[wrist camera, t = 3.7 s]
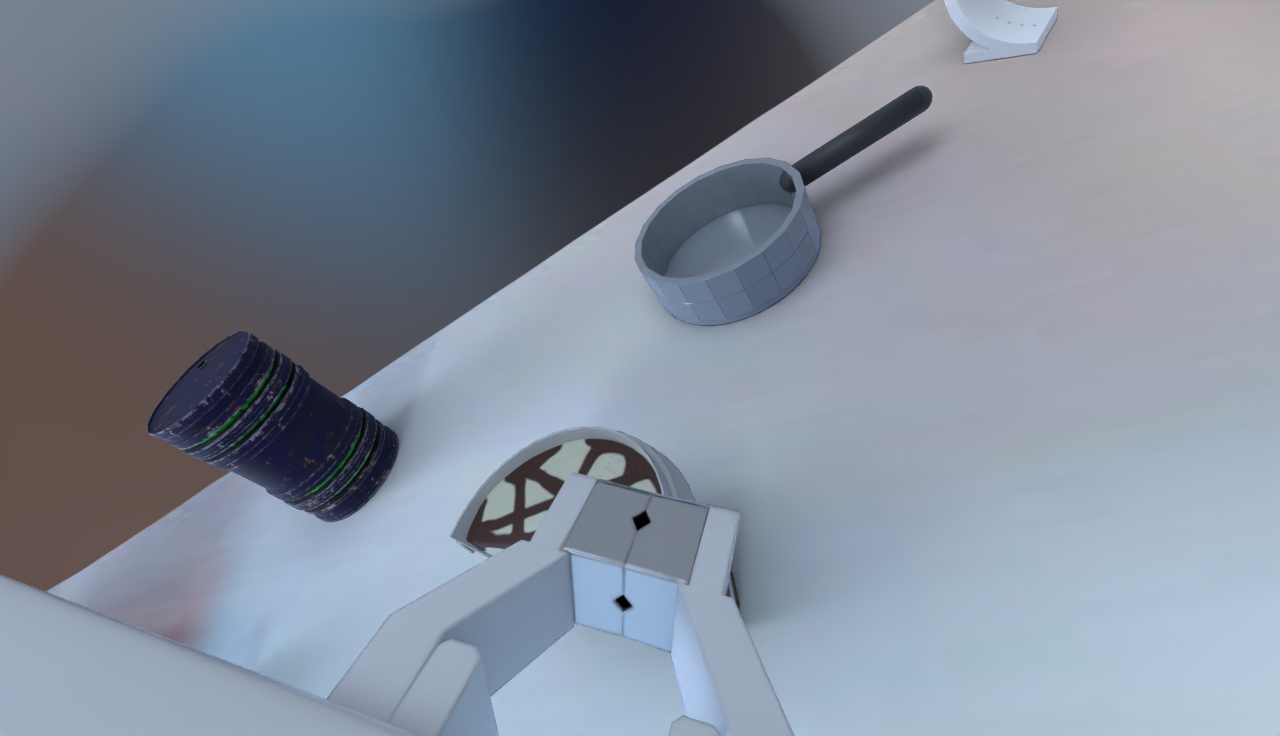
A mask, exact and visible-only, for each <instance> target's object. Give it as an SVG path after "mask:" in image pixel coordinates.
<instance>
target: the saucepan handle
mask: <svg viewBox="0 0 1280 736" xmlns="http://www.w3.org/2000/svg"><path fill="white" fill-rule="evenodd" d="M931 102H932V93H931V91H930V90H929V88H927V87H925V86H916V87H914V88H912V89H910V90H909V91H907V92H906V93H904V94H903V95H901V96H899V97H898V98H896V99H895V100H893V101H892V102H890V103H888V104H887V105H885V106H884V107H882V108H881V109H879V110H878V111H876V112H874V113H873V114H871V115H870V116H868V117H867V118H865V119H863V120H862V121H860V122H859V123H857V124H856V125H854V126H852V127H851V128H849V129H848V130H846V131H845V132H843V133H841V134H840V135H838V136H837V137H835V138H834V139H832V140H831V141H829V142H827V143H826V144H824V145H823V146H821V147H820V148H818V149H816V150H815V151H813V152H812V153H810V154H809V155H807V156H805V157H804V158H802V159H801V160H799V161H798V162H796V163H795V164H793V165H791V166H792V167H793V168H795V169H796V170H797V171H799V172H800V174H801V177H802V179H803V182H804V185H805V186H806V185H808V184H810V183H811V182H813V181H814V180H816V179H818V178H819V177H821V176H822V175H824V174H825V173H827V172H829V171H830V170H832V169H833V168H835V167H837V166H838V165H840V164H841V163H843V162H845V161H846V160H848V159H849V158H851V157H852V156H854V155H856V154H857V153H859V152H860V151H862V150H864V149H865V148H867V147H868V146H870V145H872V144H873V143H875V142H876V141H878V140H879V139H881V138H883V137H884V136H886V135H887V134H889V133H891V132H892V131H894V130H895V129H897V128H899V127H900V126H902V125H903V124H905V123H906V122H908V121H910V120H911V119H913V118H914V117H916V116H918V115H919V114H921V113H922V112H924V111H925V110H926V109H927V108H928V107H929V106H930V104H931ZM779 184H780V186H781V188H782V189H783V190H784V191H785V192H788V193H794V192H796V189H795V185H794V183H793V181H792V179H791V177H790V176H789V174H788V173H787V172H786V171H783V172H782V174H781V175H780V179H779Z"/></svg>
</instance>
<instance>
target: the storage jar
mask: <svg viewBox="0 0 1280 736" xmlns="http://www.w3.org/2000/svg"><path fill="white" fill-rule="evenodd" d="M147 432H148V433H149V434H151V435H152V436H155V437H157V438H159V439H162V440H164V439H165V440H167V441H168V443H169V444H171V445H173V446H175V447H177V448H179V449H182V451H183V452H184V453H186V454H188V455H190V456H192V457H193V458H196V459H198V460H204V461H205V462H207V463H209V464H210V466H212V467H215V468H219V469H221V470H225V471H226V470H231V471H232V472H234V473H236V474H238V475H240V476H242V477H244V478H246V479H248V480H250V481H252V482H254V483H256V484H258V485H260V486H262V487H264V488H266V490H267V492H268V493H269V494H271V495H273V496H275V497H277V498H279V499H281V500H283V501H284V502H285V503H287V504H288V505H290V506H292V507H294V508H296V509H299V510H304V511H305V512H307V513H311V514H315V515H316V516H317V517H318V518H320V519H322V520H324V521H327V522H335V521H339V520H342V519H344V518H346V517H348V516H350V515H351V514H353V513H354V512H356V511H357V510H358V509H360V508H361V507H362V506H363V505H364V504H365V503H366V502H367V501H368V500H369V499H370V498H371V497H372V496H373V495H374V494H375V493H376V492H377V490H378V489H379V488H380V486H381V485H382V484H383V482H384V481H385V479H386V477H387V476H388V474H389V472H390V470H391V468H392V466H393V464H394V461H395V459H396V455H397V452H398V438H397V435H396V434H395V432H394V431H392V430H391V429H390V428H388V427H386V426H383V425H382V424H381V423H380V422H379V421H378V420H376V419H375V418H374V416H373V415H371V414H370V413H368V412H367V411H366V410H364V409H363V408H360V407H357V406H356V405H355V404H353V403H352V402H350V401H349V400H347V399H345V398H340V397H338V396H337V395H335V394H334V393H332V392H331V391H329V390H328V389H326V388H325V387H323V386H322V385H320V384H319V383H317V382H316V381H315V380H313V379H312V378H310V376H309V374H308V373H307V372H306V371H305V370H304V369H303V368H302V367H301V366H300V365H296V364H295V363H293V362H291V359H289V358H288V357H287V356H285V355H284V354H282V353H281V352H279V351H278V350H274V349H273V348H271V347H270V346H269V345H267V344H266V343H264V342H259V341H258V338H257V337H256V336H254V335H253V334H251V333H250V332H248V331H246V330H242V331H238V332H236V333H234V334H231V335H229V336H228V337H226V338H225V339H223V340H222V341H220V342H219V343H217V344H216V345H215V346H213V347H212V348H211V349H209V350H208V351H207V352H206V353H205V354H203V355H202V356H201V357H200V358H199V359H198V360H197V361H196V362H194V363H193V365H192V366H190V367H189V368H188V369H187V371H185V372H184V373H183V374H182V376H181V377H180V378H179V379H178V380H177V381H176V382H175V383H174V384H173V385H172V387H171V388H170V389H169V390H168V391H167V393H166V394H165V395H164V397H163V398H162V399H161V401H160V402H159V404H158V405H157V406H156V408H155V409H154V411H153V413H152V415H151V417H150V418H149V421H148V424H147Z"/></svg>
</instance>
